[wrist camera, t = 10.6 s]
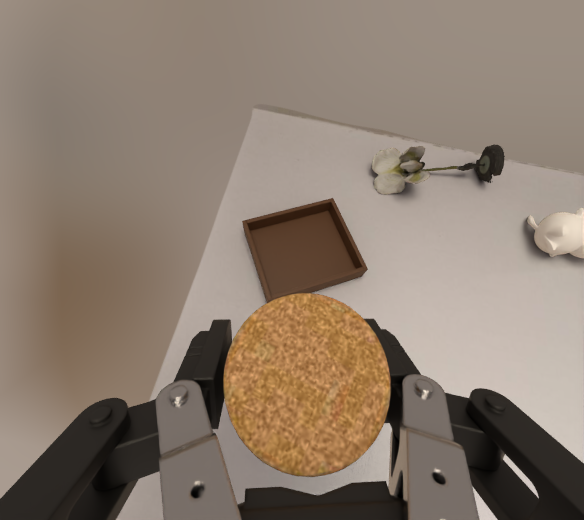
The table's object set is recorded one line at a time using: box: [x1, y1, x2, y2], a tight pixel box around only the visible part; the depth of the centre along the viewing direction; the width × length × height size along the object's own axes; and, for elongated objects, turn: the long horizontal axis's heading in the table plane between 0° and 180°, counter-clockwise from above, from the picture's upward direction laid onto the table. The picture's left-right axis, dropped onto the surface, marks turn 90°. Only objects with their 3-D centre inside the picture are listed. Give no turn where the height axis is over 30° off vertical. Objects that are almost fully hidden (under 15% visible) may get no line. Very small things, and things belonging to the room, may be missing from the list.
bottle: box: [223, 293, 390, 477], centre depth 14 cm, size 6×6×15 cm
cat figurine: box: [527, 208, 584, 259], centre depth 45 cm, size 9×11×12 cm
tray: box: [242, 198, 367, 303], centre depth 42 cm, size 15×13×3 cm
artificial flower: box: [372, 145, 504, 195], centre depth 48 cm, size 9×22×10 cm, turn 92°
